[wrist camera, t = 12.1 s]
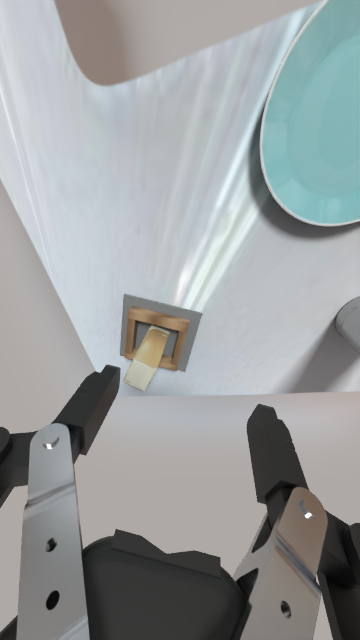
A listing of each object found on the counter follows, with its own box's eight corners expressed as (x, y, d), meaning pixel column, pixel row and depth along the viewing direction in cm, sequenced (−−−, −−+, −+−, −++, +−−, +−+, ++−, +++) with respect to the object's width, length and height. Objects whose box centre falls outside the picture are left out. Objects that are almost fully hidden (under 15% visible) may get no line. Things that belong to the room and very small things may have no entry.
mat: (202, 313, 40) (201, 314, 40) (185, 370, 48) (184, 371, 48) (124, 293, 41) (123, 294, 40) (120, 354, 49) (119, 355, 48)
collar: (189, 320, 41) (188, 326, 39) (178, 363, 47) (176, 370, 45) (132, 305, 41) (128, 311, 39) (128, 350, 47) (124, 357, 45)
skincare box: (159, 350, 46) (144, 393, 35) (142, 342, 46) (121, 383, 35) (171, 329, 43) (158, 370, 32) (152, 320, 42) (133, 358, 32)
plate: (491, -108, 17) (537, -159, 15) (456, 178, 26) (481, 176, 24) (234, 70, 24) (236, 55, 22) (275, 248, 33) (280, 252, 31)
